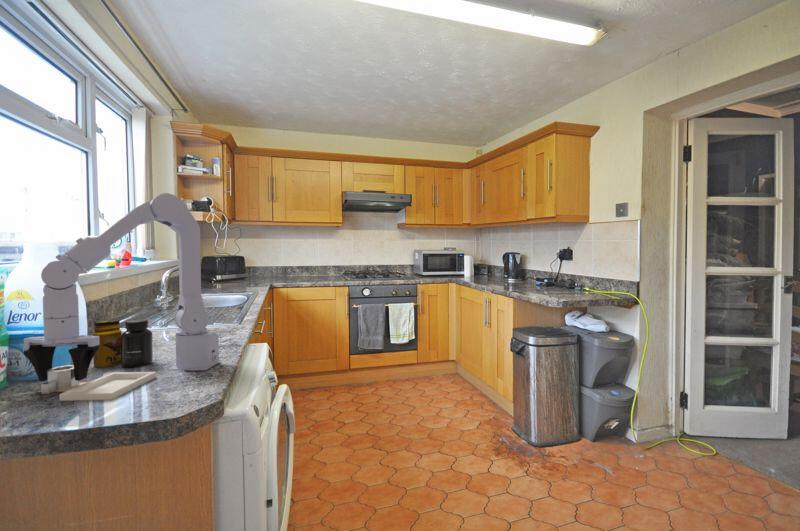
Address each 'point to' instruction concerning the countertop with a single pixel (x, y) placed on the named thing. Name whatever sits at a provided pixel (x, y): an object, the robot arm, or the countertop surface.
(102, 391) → the tray
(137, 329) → the supplement bottle
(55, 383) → the ring
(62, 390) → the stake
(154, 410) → the countertop surface
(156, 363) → the countertop surface
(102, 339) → the condiment
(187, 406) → the countertop surface
